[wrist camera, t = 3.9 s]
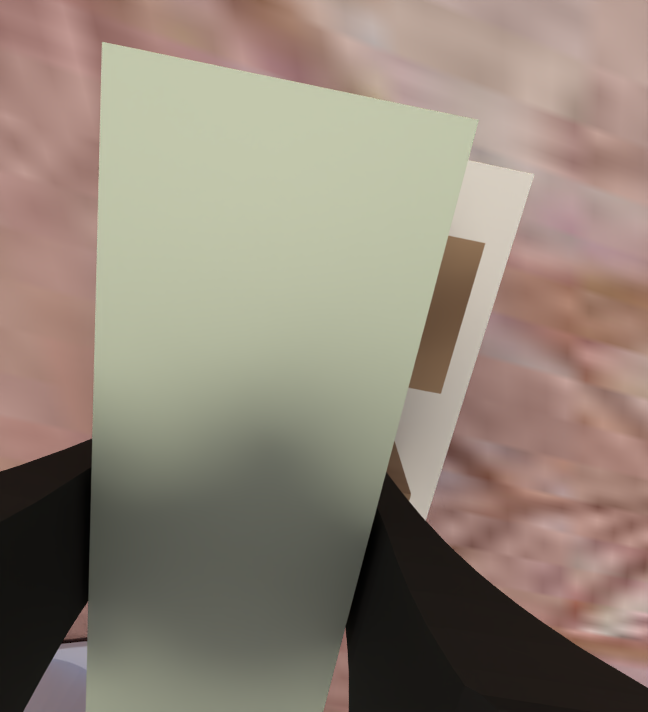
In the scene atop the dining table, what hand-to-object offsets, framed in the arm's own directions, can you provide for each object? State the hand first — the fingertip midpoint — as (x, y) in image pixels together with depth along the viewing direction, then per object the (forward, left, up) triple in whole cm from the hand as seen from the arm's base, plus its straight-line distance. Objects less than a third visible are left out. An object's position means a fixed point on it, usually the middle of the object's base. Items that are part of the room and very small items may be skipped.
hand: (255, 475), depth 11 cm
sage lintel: (0, 0, -2) cm, 2 cm away
